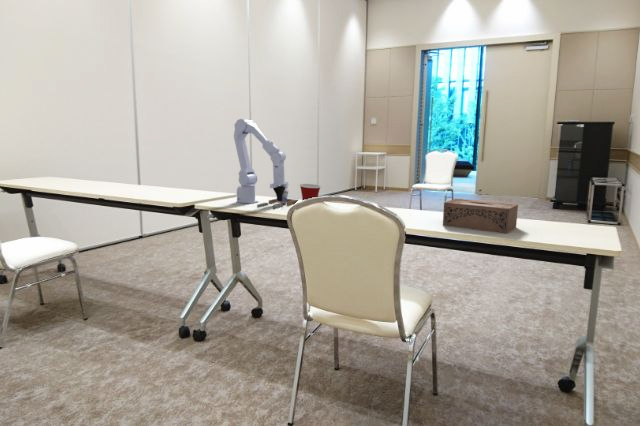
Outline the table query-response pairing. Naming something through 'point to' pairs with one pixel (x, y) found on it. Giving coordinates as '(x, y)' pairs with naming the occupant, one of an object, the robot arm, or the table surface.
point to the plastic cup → (309, 190)
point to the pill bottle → (284, 195)
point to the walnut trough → (289, 201)
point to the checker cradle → (267, 204)
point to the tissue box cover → (480, 215)
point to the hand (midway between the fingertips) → (279, 200)
